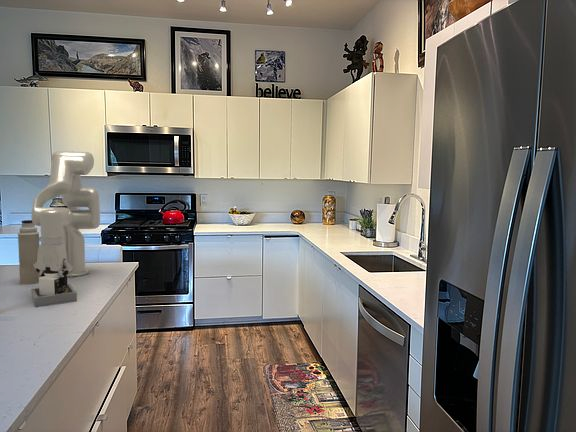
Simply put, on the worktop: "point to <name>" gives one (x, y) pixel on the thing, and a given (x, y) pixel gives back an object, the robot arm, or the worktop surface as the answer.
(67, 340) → the worktop surface
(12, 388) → the worktop surface
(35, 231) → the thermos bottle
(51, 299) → the tray
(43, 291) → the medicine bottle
